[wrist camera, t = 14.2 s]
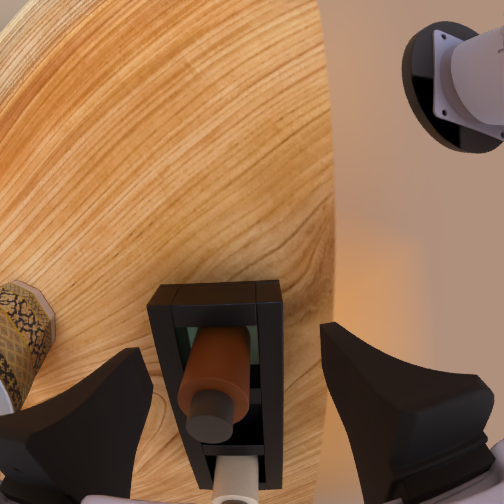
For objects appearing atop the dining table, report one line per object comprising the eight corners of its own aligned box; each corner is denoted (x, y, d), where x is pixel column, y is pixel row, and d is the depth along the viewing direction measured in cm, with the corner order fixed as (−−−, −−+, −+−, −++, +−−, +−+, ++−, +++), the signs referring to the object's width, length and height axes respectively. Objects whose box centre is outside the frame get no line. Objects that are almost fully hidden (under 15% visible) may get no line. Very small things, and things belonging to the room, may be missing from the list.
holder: (278, 279, 22) (283, 301, 19) (280, 464, 29) (282, 489, 25) (160, 284, 22) (146, 305, 19) (203, 465, 29) (199, 489, 26)
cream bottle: (260, 437, 27) (261, 516, 18) (256, 459, 28) (256, 531, 19) (217, 434, 26) (208, 512, 18) (217, 456, 28) (209, 528, 19)
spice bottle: (246, 311, 22) (242, 401, 14) (253, 357, 23) (253, 450, 15) (191, 316, 22) (160, 404, 14) (202, 361, 24) (181, 451, 15)
